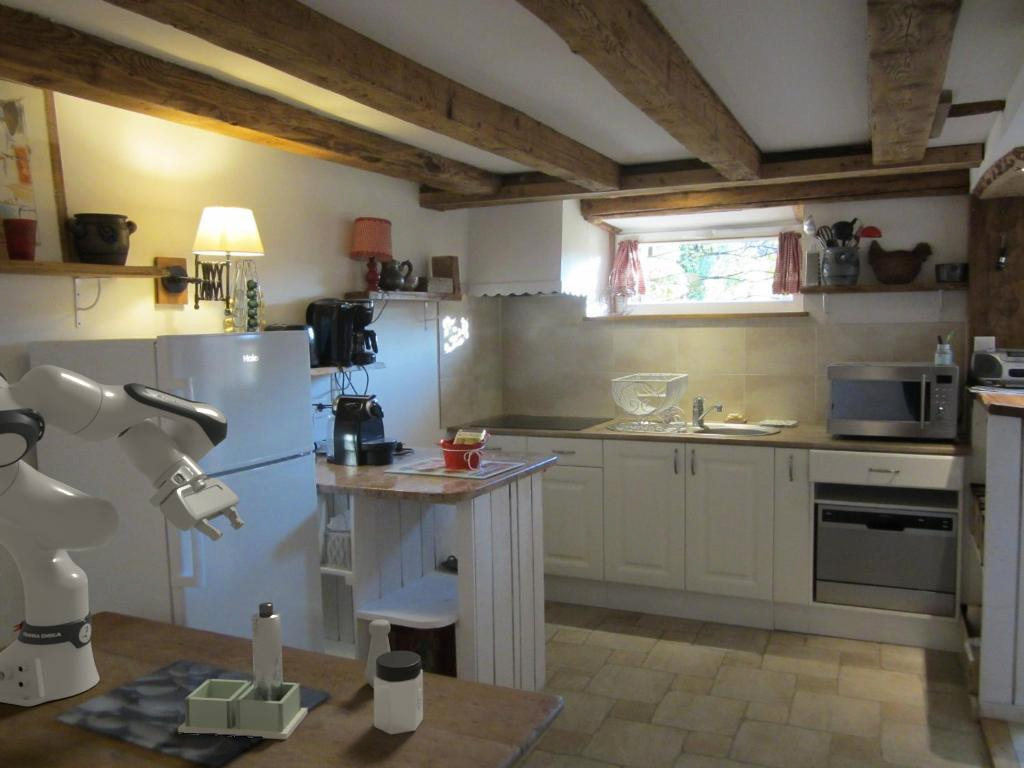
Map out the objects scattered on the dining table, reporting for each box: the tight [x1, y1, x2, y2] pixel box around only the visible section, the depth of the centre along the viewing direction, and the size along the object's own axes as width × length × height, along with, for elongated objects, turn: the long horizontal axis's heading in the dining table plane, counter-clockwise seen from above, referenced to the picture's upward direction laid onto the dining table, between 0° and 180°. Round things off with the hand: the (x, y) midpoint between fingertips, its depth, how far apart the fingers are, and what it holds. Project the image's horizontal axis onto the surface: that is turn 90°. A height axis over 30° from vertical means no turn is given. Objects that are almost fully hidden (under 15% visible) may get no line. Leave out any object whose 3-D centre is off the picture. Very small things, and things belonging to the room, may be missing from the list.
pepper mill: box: [251, 602, 284, 701], centre depth 145 cm, size 5×5×21 cm
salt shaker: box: [364, 619, 391, 689], centre depth 163 cm, size 6×6×13 cm
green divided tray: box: [177, 678, 308, 740], centre depth 146 cm, size 20×10×6 cm, turn 84°
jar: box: [373, 650, 424, 735], centre depth 146 cm, size 9×8×12 cm
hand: (230, 532), depth 161 cm, fingers open, 8 cm apart
